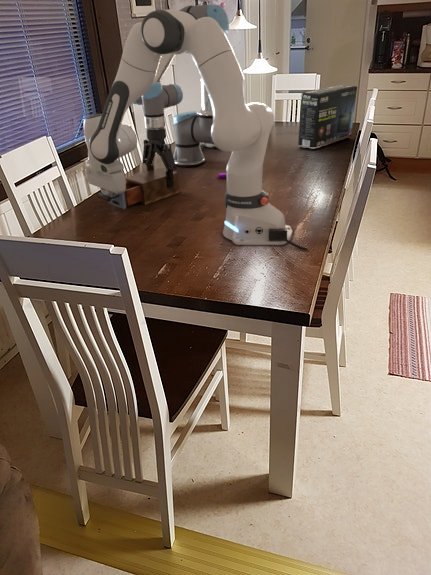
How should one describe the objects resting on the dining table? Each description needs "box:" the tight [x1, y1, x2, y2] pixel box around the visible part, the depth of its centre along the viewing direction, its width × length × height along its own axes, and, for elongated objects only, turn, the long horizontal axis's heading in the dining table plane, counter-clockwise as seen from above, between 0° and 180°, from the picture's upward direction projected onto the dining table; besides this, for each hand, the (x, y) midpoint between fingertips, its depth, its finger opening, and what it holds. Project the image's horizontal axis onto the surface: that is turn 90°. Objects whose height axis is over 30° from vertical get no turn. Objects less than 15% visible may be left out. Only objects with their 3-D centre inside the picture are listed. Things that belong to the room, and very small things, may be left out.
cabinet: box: [125, 167, 180, 206], centre depth 182 cm, size 18×11×8 cm, turn 136°
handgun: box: [217, 172, 226, 179], centre depth 193 cm, size 21×8×2 cm, turn 11°
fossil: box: [200, 143, 220, 150], centre depth 248 cm, size 18×11×15 cm
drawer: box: [96, 181, 144, 210], centre depth 174 cm, size 22×10×6 cm, turn 136°
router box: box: [297, 84, 358, 151], centre depth 238 cm, size 36×11×27 cm, turn 134°
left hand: (160, 184), depth 184 cm, fingers closed on cabinet, 11 cm apart
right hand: (108, 199), depth 169 cm, fingers closed, pressing on drawer
